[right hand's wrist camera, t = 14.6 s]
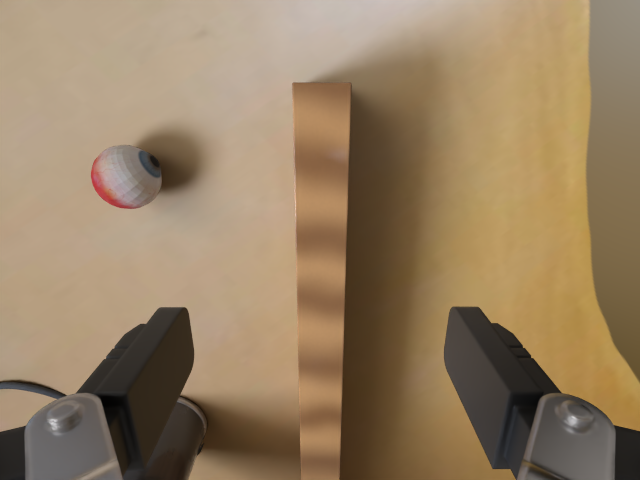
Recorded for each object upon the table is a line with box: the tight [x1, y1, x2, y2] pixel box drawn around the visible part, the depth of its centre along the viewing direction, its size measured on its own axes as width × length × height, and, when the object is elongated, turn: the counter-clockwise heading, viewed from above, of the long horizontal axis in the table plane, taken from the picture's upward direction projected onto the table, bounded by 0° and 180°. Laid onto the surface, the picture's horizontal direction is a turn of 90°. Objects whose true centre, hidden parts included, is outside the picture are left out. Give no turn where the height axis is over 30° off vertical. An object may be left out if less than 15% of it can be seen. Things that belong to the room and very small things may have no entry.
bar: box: [292, 83, 351, 480], centre depth 46 cm, size 78×4×8 cm, turn 0°
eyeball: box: [91, 145, 162, 209], centre depth 36 cm, size 6×6×6 cm
